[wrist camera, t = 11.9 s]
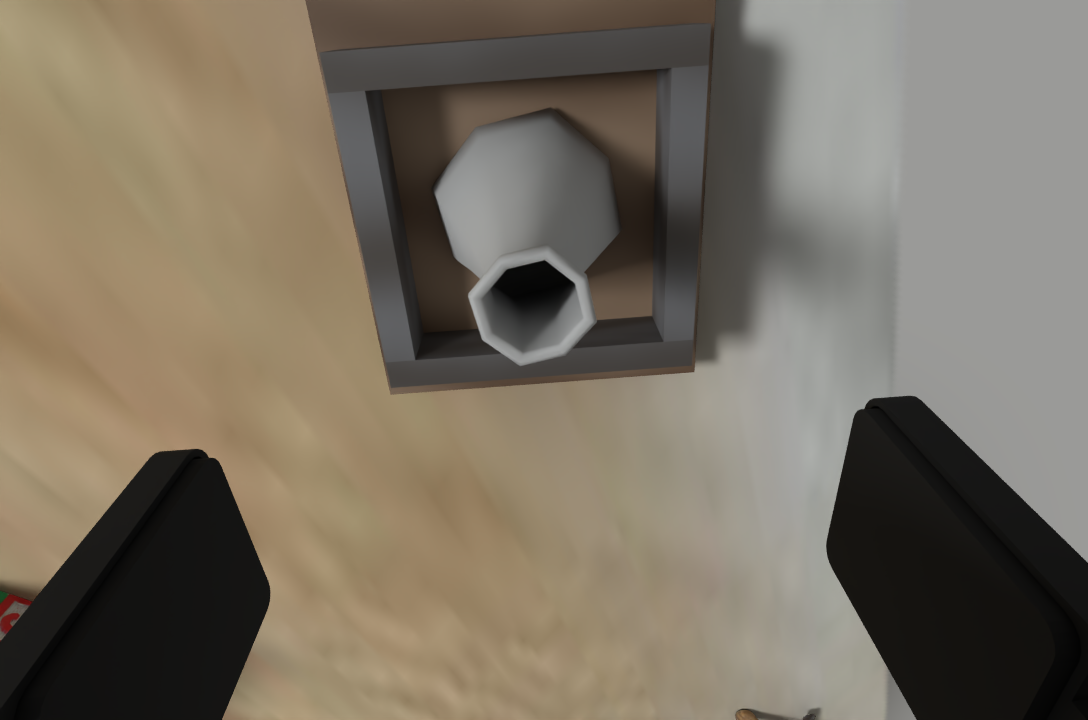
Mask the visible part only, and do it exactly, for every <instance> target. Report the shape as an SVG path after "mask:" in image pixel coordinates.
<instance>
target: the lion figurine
mask: <svg viewBox="0 0 1088 720" xmlns="http://www.w3.org/2000/svg"><path fill="white" fill-rule="evenodd" d="M735 716H736V720H758V719H757V718H756V716H755V715H754V714H753V713H752V712H751V711H749V710H740V711H738V712H736V715H735ZM815 717H816V716H815V714H810V715H806V716H805V717H804V718H803V720H814V719H815Z"/></svg>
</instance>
